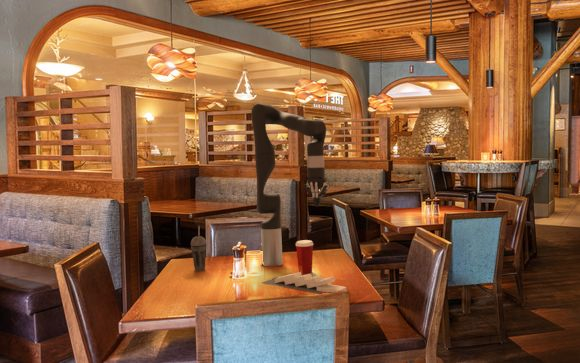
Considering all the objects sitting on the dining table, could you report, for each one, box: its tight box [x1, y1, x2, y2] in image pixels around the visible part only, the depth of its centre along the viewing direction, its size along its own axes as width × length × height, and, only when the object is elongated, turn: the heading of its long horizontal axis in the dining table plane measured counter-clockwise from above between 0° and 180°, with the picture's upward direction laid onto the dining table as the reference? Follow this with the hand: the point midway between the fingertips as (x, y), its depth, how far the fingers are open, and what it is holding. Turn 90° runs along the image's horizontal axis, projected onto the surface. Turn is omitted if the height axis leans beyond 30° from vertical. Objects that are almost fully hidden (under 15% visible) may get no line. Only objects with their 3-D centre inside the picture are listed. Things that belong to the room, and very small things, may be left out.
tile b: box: [284, 273, 313, 285], centre depth 200 cm, size 2×5×10 cm
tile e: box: [316, 283, 348, 294], centre depth 190 cm, size 2×5×10 cm
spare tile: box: [295, 274, 324, 287], centre depth 197 cm, size 2×5×10 cm
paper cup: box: [295, 239, 314, 275], centre depth 218 cm, size 8×8×14 cm
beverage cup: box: [190, 225, 208, 272], centre depth 231 cm, size 7×7×20 cm
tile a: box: [274, 271, 303, 283], centre depth 203 cm, size 2×5×10 cm
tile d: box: [306, 276, 336, 288], centre depth 193 cm, size 2×5×10 cm
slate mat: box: [261, 276, 323, 294], centre depth 200 cm, size 28×10×1 cm, turn 53°
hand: (317, 206), depth 222 cm, fingers closed
